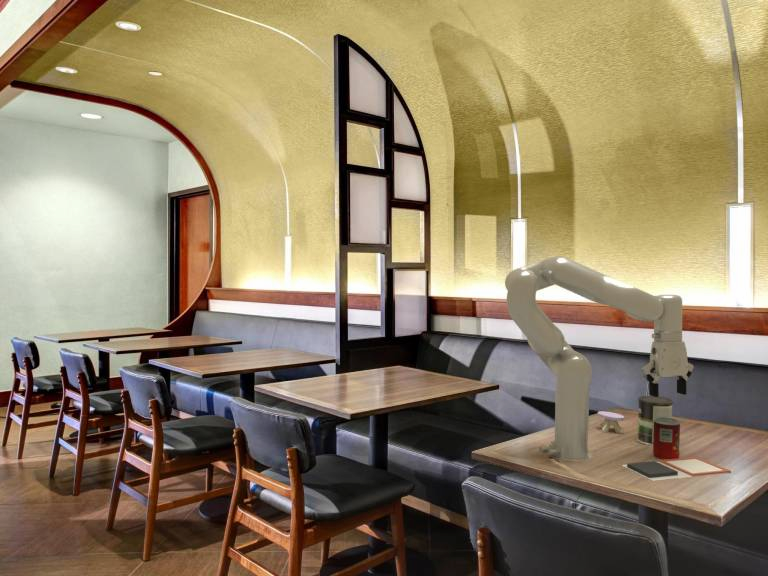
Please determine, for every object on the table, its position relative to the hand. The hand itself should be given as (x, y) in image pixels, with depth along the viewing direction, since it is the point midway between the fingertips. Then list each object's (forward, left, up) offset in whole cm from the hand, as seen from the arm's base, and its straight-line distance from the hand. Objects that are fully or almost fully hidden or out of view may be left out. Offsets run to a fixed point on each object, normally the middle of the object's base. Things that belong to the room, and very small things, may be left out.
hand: (667, 394), depth 182 cm
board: (-6, -10, -19) cm, 23 cm away
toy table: (+5, +33, -20) cm, 39 cm away
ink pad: (-13, -10, -18) cm, 25 cm away
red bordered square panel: (+1, -10, -18) cm, 21 cm away
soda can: (0, 0, -20) cm, 20 cm away
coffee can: (+10, +17, -20) cm, 27 cm away
